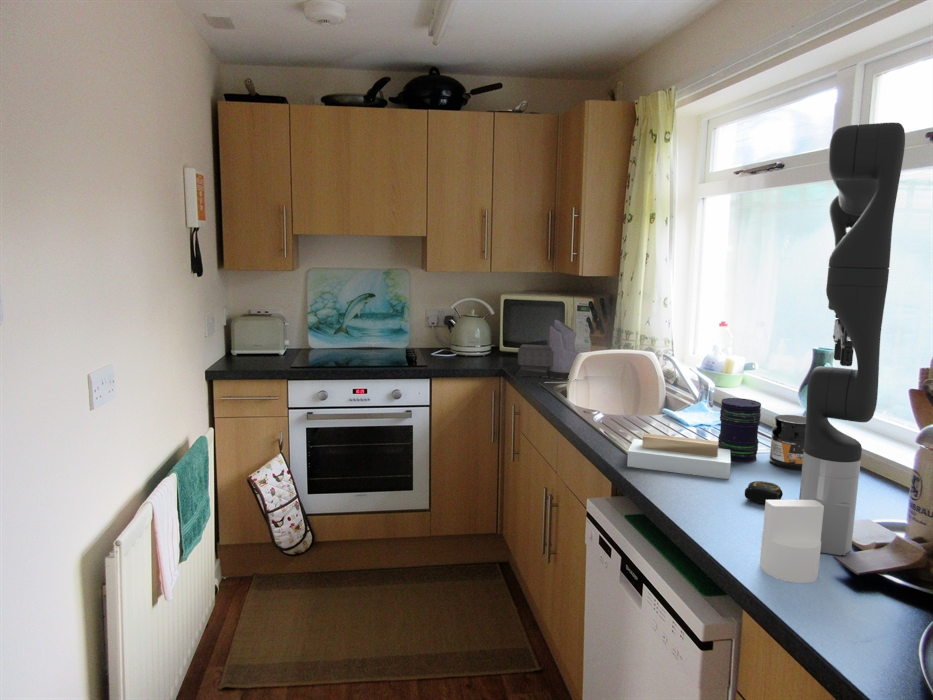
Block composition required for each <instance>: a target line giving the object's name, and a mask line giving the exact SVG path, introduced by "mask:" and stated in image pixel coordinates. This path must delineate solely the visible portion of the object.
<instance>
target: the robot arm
mask: <svg viewBox="0 0 933 700" xmlns="http://www.w3.org/2000/svg"><path fill="white" fill-rule="evenodd" d="M905 132H906V131H905V128H904V126H903V124H902V123H900V122H880V123H879V122H878V123H865V124H862V123H861V124H850V125H844V126H842V127H839V128H837V129H836V130H835V131H834V133H833V135H832V136H831V139H830V142H829V147H828V156H827V165H828V166H827V167H828V172H829V176H830V177H831V178H830V179H831V180H832V181H833V184H834V185H835V187H836V189H837V190H838V195H836V196H835V197H834V198H833V199H832V200H831V202H830V204H829V210H828V211H829V213H828V214H829V218H830V223H831V227H832V231H833V237H834V248H833V250H832V252H831V254H830V256H829V259H828V268H827V269H828V270H827V280H826V286H825V287H826V289H825V292H826V296H827V297H826V298H827V300H828V304H827V305H828V306H827V307H828V309H829V310H831V311H833V312H834V313H835V315H834V317H835V318H834V319H835V320H834V328H833V335H832V338H833V342H834V349H833V350H834V353H833V359H834V360H835V361H839V364H840V366H842V367H836V366H835V367H833V366H823V365H821V366H820V365H819V366H816V367H815V368H813V369H812V371H811V373H810V374H809V377H808V382H807V389H806V415H805V417H806V429H805V443H804V454H803V465H802V470H801V478H800V486H799V487H800V489H799V495H798V496H799V498H798V500H816V501H818V502H820V503H821V504H822V505H823V506H824V512H823V522H822V532H821V550H820V553H823V554H829V555H836V556H841V555H845V554H846V555H847V554H848V553H849V552H851V551H852V545H853V537H854V536H853V535H854V525H855V519H856V518H855V517H856V516H855V515H856V506H857V498H858V497H857V496H858V488H859V479H860V477H859V476H860V469H861V462H862V461H861V460H862V453H863V448H862V444H861V443H860V441H858V440H857V439H855V438H854V437H852V436H849V435H847V434H846V433H844V432H842V431H840V430H839V429H837V428H836V427H835V426H833V425H832V423H831V422H830V421H829V419H834V420H841V421H848V422H855V423H868V422H870V421H871V420H872V418H873V417H874V414H875V412H876V409H877V403H878V393H879V377H880V376H879V375H880V372H879V371H880V351H881V350H880V349H881V334H882V325H883V319H884V310H885V304H886V299H887V298H886V296H887V290H888V285H889V284H888V282H889V274H890V266H891V265H890V264H891V250H892V249H891V248H892V237H893V236H892V235H893V224H894V216H895V209H896V203H897V198H898V197H897V196H898V191H899V185H900V181H901V180H900V178H901V173H902V167H903V161H904V154H905V149H906V148H905V147H906V133H905ZM848 228H850V229H849V230H848V231H847V229H848ZM854 352H855V356H856V363H857V364H856V365H857V369H852V368H846V367H852V365H853V359H854ZM843 367H845V368H843Z"/></svg>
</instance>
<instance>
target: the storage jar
mask: <svg viewBox="0 0 933 700" xmlns="http://www.w3.org/2000/svg"><path fill="white" fill-rule="evenodd" d="M761 408H762V403H761V402H760V401H758V400H754V399H748V398H741V397H739V398H738V397H729V398H728V397H727V398H722V399H721V405H720V413H719V415H720V416H719V421H720V430H719V431H720V432H719V434H718V437H717V438H718V448H720V449H729V450H730V458H731V463H732V462H733V463H744V464H745V463H748V464H749V463H754V462H756V461H757V460H758V459H757V455H758V451H759V439H758V433H759V425H760V423H761V415H762V413H761V410H762V409H761Z"/></svg>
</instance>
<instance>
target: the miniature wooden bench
mask: <svg viewBox="0 0 933 700" xmlns="http://www.w3.org/2000/svg"><path fill="white" fill-rule="evenodd" d="M642 440H643V442H642V448H646V449H653V450H663V451H672V452H680V453H689V454H697V455H705V456H714V457H717V455H718V441H719V440H718V441H717V440H709V439H701V438H700V439H699V438H692V437H691V438H690V437H682V436H672V435H665V434H663V435H662V434H653V433H646V432H644V433H643V435H642Z"/></svg>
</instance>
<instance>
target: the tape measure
mask: <svg viewBox="0 0 933 700" xmlns="http://www.w3.org/2000/svg"><path fill="white" fill-rule="evenodd" d="M783 495H784V494H783V491H782V489H781V487H780V486H779V485H778V484H775V483H773V482H769V481H761V480H755V481H752V482H750V483H748V486H747V487H745V490H744V497H745V499H747V500H750V501H752V502H756V503H757V504H758V503H759V504H761V503H762V504H763V505H765V501H766V500H782V497H783Z"/></svg>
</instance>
